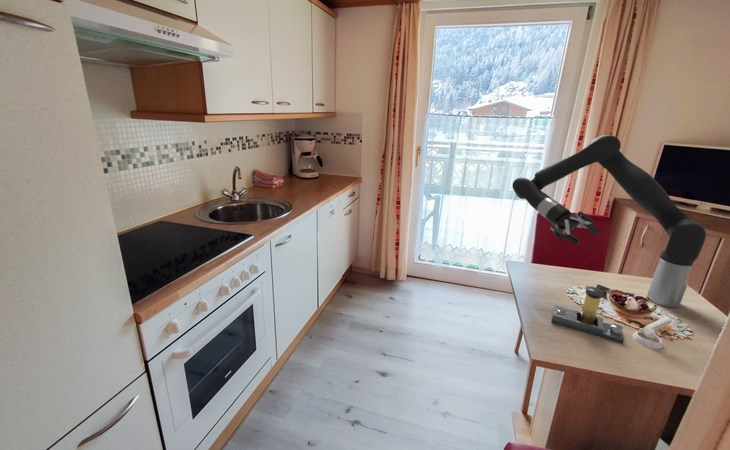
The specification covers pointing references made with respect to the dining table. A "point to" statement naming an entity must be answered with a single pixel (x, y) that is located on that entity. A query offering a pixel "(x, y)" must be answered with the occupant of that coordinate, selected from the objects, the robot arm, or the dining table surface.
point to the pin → (591, 305)
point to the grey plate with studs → (600, 329)
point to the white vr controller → (652, 333)
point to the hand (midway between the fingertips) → (588, 238)
